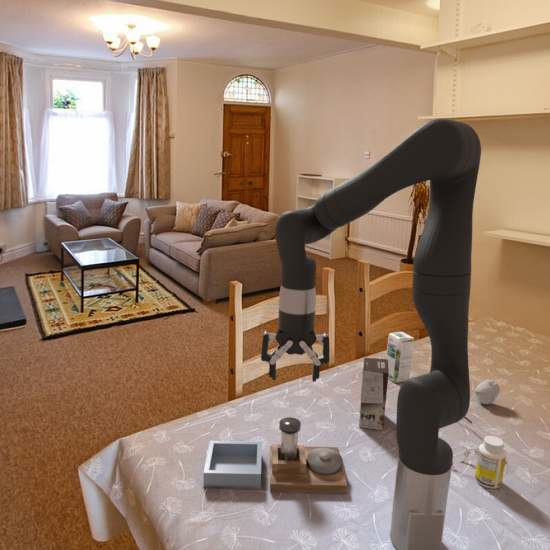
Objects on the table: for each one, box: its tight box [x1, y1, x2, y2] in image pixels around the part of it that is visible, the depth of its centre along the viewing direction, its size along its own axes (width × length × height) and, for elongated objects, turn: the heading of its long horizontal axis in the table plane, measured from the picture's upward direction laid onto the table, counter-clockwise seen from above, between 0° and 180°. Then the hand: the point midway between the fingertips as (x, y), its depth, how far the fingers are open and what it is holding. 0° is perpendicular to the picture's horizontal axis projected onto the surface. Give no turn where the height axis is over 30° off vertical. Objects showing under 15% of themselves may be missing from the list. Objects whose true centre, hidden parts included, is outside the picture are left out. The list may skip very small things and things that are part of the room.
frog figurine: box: [474, 378, 501, 405], centre depth 149 cm, size 6×7×7 cm
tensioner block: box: [269, 444, 348, 495], centre depth 115 cm, size 14×16×5 cm
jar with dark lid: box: [278, 416, 302, 461], centre depth 114 cm, size 5×5×10 cm
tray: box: [203, 440, 263, 490], centre depth 115 cm, size 12×12×4 cm
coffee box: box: [358, 357, 389, 431], centre depth 136 cm, size 9×6×16 cm
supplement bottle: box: [474, 435, 507, 490], centre depth 113 cm, size 6×6×10 cm
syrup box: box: [385, 331, 415, 384], centre depth 162 cm, size 6×6×14 cm
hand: (293, 379), depth 111 cm, fingers open, 8 cm apart
